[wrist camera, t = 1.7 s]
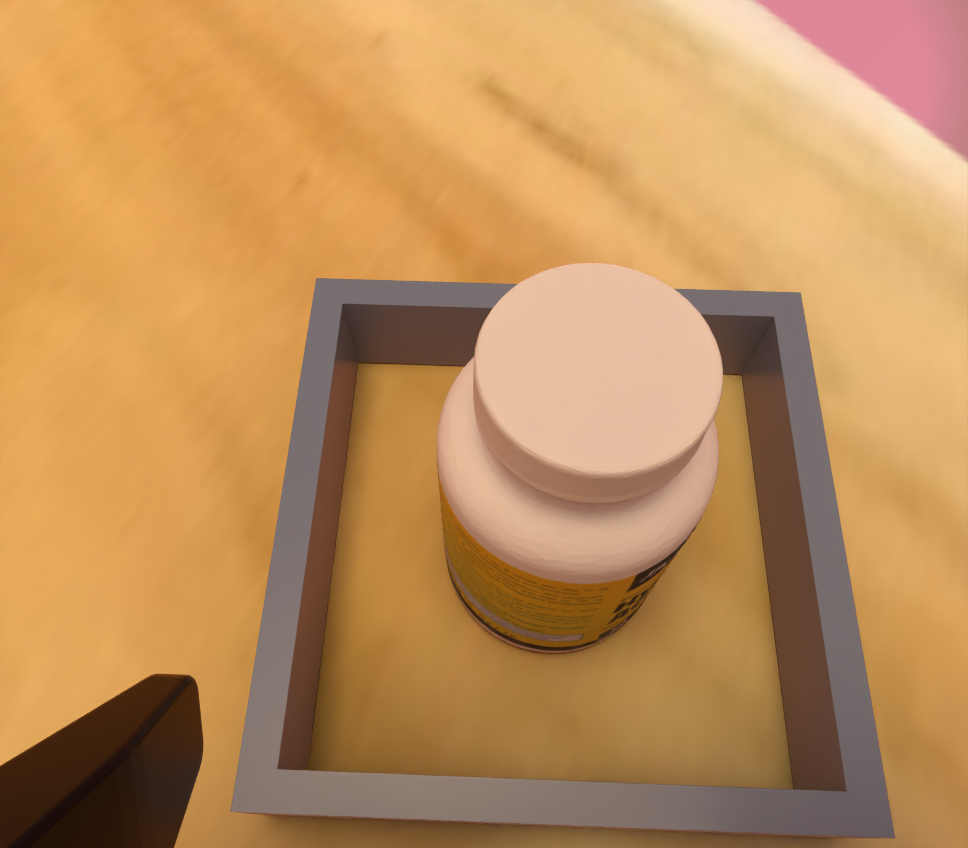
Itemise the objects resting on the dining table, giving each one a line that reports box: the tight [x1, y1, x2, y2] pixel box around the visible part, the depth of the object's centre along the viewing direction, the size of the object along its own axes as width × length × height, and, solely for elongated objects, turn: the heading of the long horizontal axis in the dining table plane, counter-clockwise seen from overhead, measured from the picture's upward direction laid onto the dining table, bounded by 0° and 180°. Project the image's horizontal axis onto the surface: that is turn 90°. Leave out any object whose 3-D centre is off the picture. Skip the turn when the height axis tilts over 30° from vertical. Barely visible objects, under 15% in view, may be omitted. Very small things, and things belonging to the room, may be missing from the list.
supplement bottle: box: [437, 263, 723, 653], centre depth 17 cm, size 5×5×10 cm
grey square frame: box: [231, 278, 895, 838], centre depth 20 cm, size 13×13×3 cm
